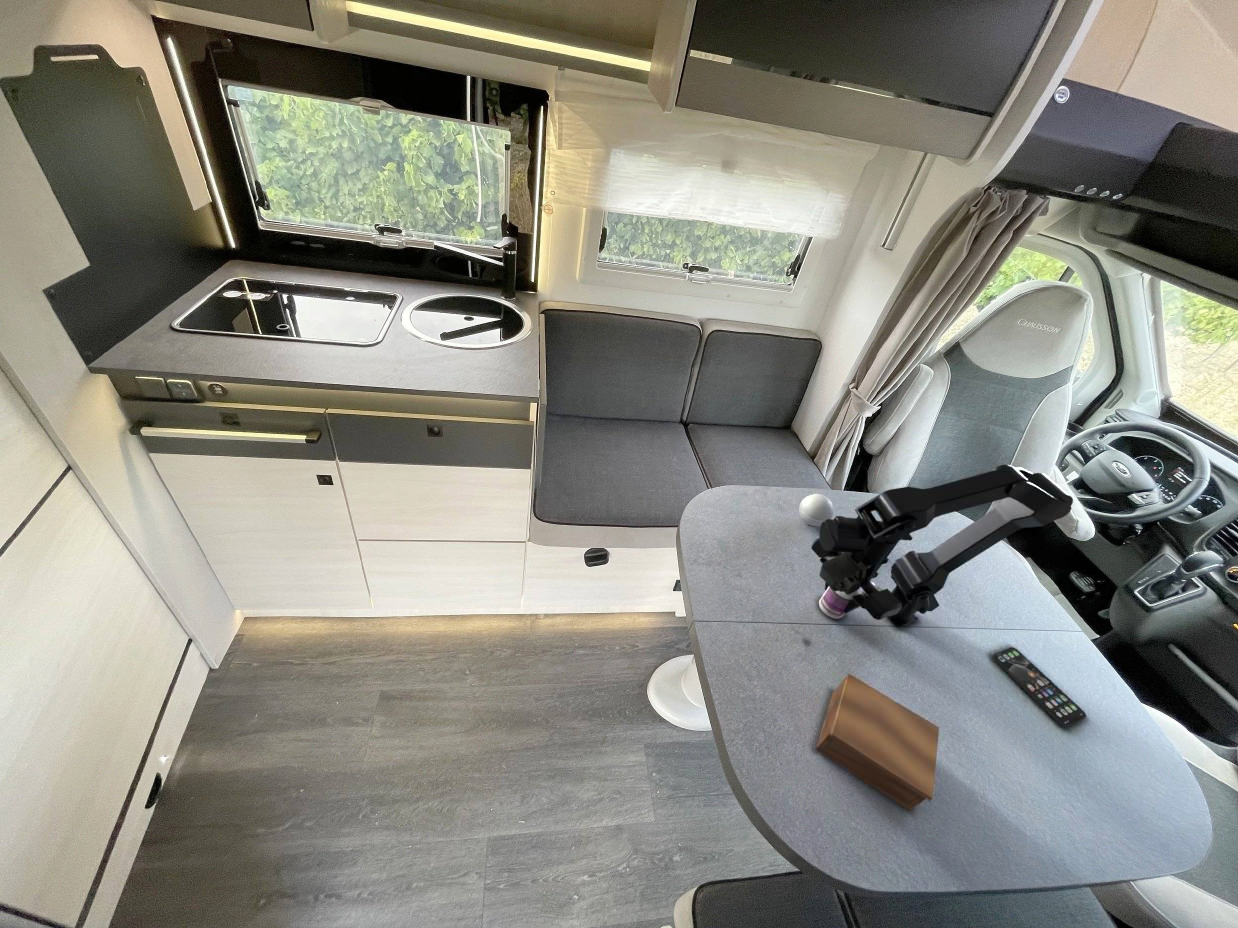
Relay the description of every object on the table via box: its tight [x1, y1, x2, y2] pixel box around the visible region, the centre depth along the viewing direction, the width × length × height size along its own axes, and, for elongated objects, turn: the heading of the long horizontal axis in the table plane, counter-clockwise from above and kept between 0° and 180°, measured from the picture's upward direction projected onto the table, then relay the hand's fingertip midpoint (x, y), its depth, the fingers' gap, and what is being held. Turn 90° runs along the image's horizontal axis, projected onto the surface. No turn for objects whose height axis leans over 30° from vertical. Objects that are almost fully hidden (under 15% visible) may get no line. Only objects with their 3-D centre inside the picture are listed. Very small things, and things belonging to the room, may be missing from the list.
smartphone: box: [991, 646, 1087, 729], centre depth 96 cm, size 7×1×15 cm
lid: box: [830, 673, 940, 802], centre depth 77 cm, size 12×15×1 cm
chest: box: [815, 675, 927, 811], centre depth 80 cm, size 12×15×6 cm
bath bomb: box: [798, 493, 835, 527], centre depth 123 cm, size 8×8×8 cm
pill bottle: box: [818, 587, 860, 619], centre depth 101 cm, size 5×5×10 cm
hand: (836, 600), depth 102 cm, fingers closed on pill bottle, 5 cm apart
